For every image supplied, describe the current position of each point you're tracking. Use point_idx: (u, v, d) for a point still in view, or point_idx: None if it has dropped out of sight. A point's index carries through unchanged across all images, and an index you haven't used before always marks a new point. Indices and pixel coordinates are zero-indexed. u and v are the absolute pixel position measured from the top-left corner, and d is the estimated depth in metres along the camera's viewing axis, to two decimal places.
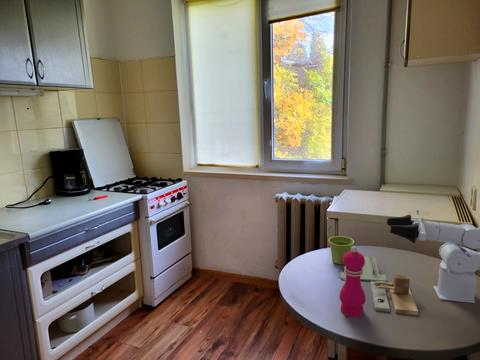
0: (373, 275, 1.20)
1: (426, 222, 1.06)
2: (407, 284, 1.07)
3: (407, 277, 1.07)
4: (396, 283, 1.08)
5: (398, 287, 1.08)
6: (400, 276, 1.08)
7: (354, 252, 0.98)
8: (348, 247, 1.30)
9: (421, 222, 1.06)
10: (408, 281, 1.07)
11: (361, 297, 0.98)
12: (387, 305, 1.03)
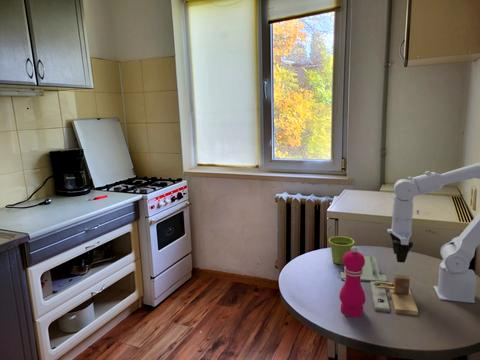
0: (373, 275, 1.20)
1: (392, 227, 1.10)
2: (407, 284, 1.07)
3: (407, 277, 1.07)
4: (396, 283, 1.08)
5: (398, 287, 1.08)
6: (400, 276, 1.08)
7: (354, 252, 0.98)
8: (348, 247, 1.29)
9: (392, 233, 1.10)
10: (408, 281, 1.07)
11: (361, 297, 0.98)
12: (387, 305, 1.03)
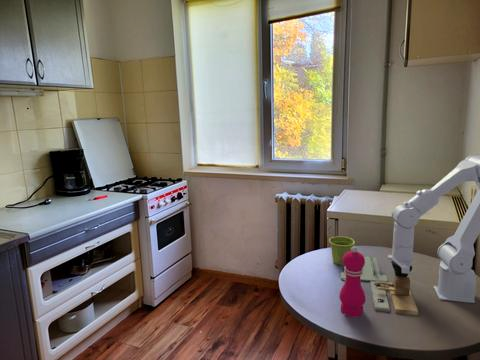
0: (374, 276, 1.20)
1: (393, 254, 1.08)
2: (408, 285, 1.06)
3: (408, 278, 1.07)
4: (396, 284, 1.07)
5: (399, 288, 1.07)
6: (401, 277, 1.07)
7: (354, 252, 0.98)
8: (349, 247, 1.29)
9: (393, 260, 1.08)
10: (409, 282, 1.06)
11: (361, 297, 0.98)
12: (387, 305, 1.03)
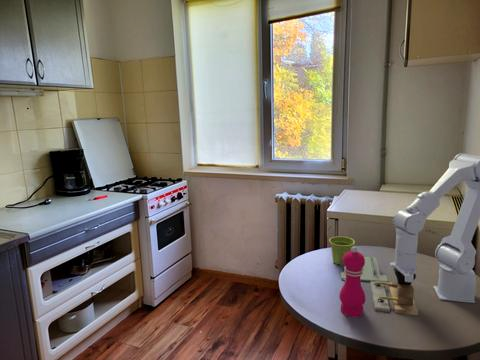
0: (374, 276, 1.20)
1: (395, 261, 1.03)
2: (411, 295, 1.01)
3: (411, 287, 1.02)
4: (399, 293, 1.02)
5: (402, 297, 1.02)
6: (404, 286, 1.02)
7: (354, 252, 0.98)
8: (349, 247, 1.29)
9: (396, 267, 1.03)
10: (412, 291, 1.01)
11: (361, 297, 0.98)
12: (387, 305, 1.03)
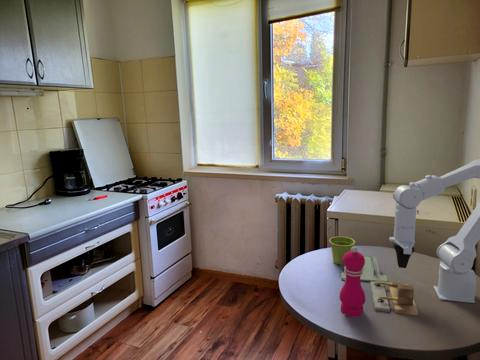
0: (374, 276, 1.20)
1: (394, 236, 1.06)
2: (411, 295, 1.01)
3: (411, 287, 1.01)
4: (399, 293, 1.02)
5: (402, 297, 1.02)
6: (404, 286, 1.02)
7: (354, 252, 0.98)
8: (349, 247, 1.29)
9: (395, 241, 1.06)
10: (412, 291, 1.01)
11: (361, 297, 0.98)
12: (387, 305, 1.03)
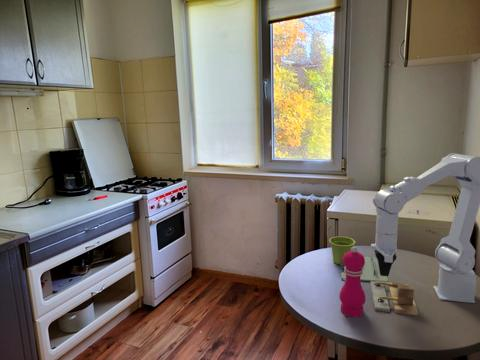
0: (374, 276, 1.20)
1: (376, 242, 1.01)
2: (411, 295, 1.01)
3: (411, 287, 1.01)
4: (399, 293, 1.02)
5: (402, 297, 1.02)
6: (404, 286, 1.02)
7: (354, 252, 0.98)
8: (349, 247, 1.29)
9: (376, 248, 1.01)
10: (412, 291, 1.01)
11: (361, 297, 0.98)
12: (387, 305, 1.03)
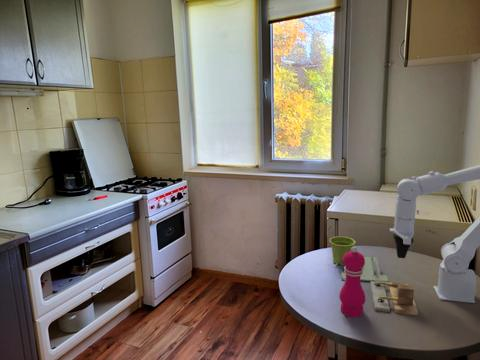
0: (374, 276, 1.20)
1: (395, 227, 1.11)
2: (411, 295, 1.01)
3: (411, 287, 1.01)
4: (399, 293, 1.02)
5: (402, 297, 1.02)
6: (404, 286, 1.02)
7: (354, 252, 0.98)
8: (349, 247, 1.29)
9: (395, 232, 1.10)
10: (412, 291, 1.01)
11: (361, 297, 0.98)
12: (387, 305, 1.03)
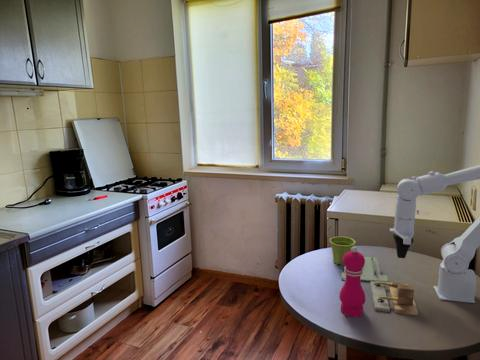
0: (374, 276, 1.20)
1: (395, 227, 1.11)
2: (411, 295, 1.01)
3: (411, 287, 1.01)
4: (399, 293, 1.02)
5: (402, 297, 1.02)
6: (404, 286, 1.02)
7: (354, 252, 0.98)
8: (349, 247, 1.29)
9: (395, 232, 1.10)
10: (412, 291, 1.01)
11: (361, 297, 0.98)
12: (387, 305, 1.03)
